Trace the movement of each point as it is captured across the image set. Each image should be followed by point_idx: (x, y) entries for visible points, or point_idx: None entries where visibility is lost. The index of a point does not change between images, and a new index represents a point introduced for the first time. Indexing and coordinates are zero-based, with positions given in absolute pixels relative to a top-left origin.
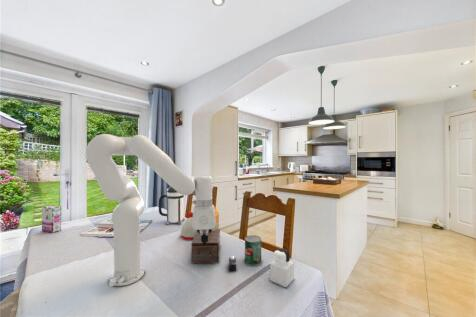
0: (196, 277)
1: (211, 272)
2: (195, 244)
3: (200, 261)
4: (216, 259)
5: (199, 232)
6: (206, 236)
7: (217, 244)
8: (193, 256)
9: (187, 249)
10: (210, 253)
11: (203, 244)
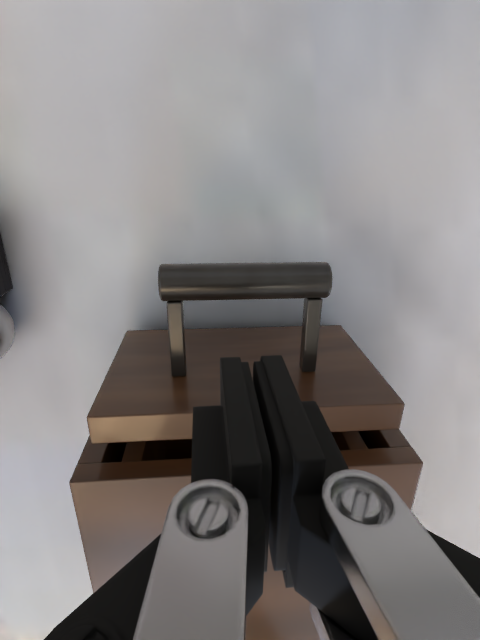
0: (280, 128)
1: (158, 201)
2: (366, 452)
3: (271, 331)
4: (126, 341)
5: (442, 560)
6: (221, 475)
7: (90, 463)
8: (346, 349)
9: None
10: (172, 343)
11: (265, 356)
